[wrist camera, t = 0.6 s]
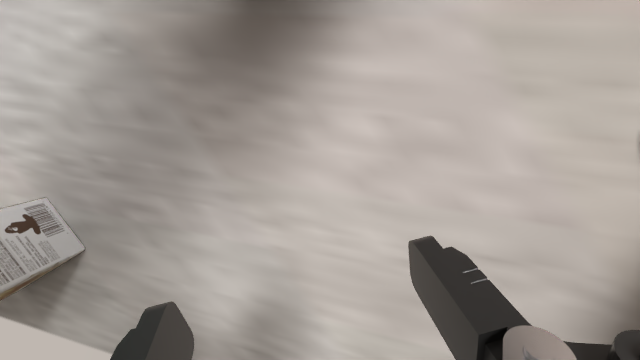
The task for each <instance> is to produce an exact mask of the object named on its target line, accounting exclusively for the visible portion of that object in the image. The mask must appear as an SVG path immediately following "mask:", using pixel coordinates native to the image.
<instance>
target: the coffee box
mask: <svg viewBox="0 0 640 360" xmlns="http://www.w3.org/2000/svg"><path fill="white" fill-rule="evenodd" d="M84 250H85V247H84V246H83V244H82V243H81V242H80V240H79V239H78V238H77V237H76V235H75V234H74V233H73V231H72V230H71V229H70V228H69V226H68V225H67V224H66V222H65V221H64V220H63V219H62V217H61V216H60V215H59V213H58V212H57V211H56V209H55V208H54V207H53V206H52V204H51V203H50V202H49V200H48V199H47V198H41V199H37V200H33V201H29V202H25V203H21V204H17V205H13V206H9V207H5V208H1V209H0V301H1V300H3V299H4V298H6V297H8V296H10V295H12V294H14V293H16V292H17V291H19V290H21V289H23V288H24V287H26V286H28V285H29V284H31V283H32V282H34V281H36V280H37V279H39V278H40V277H42V276H44V275H45V274H47V273H48V272H50V271H52V270H53V269H55V268H57V267H58V266H60V265H61V264H63V263H65V262H66V261H68V260H70V259H71V258H73V257H74V256H76V255H78V254H79V253H81V252H82V251H84Z"/></svg>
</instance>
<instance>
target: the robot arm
mask: <svg viewBox="0 0 640 360" xmlns="http://www.w3.org/2000/svg"><path fill="white" fill-rule="evenodd" d="M409 261H410V275H411V279H412V283H413V286H414V288H415V290H416V292H417V294H418V296H419V297H420V299H421V301H422V303H423V304H424V306H425V308H426V309H427V311H428V313H429V315H430V316H431V318H432V320H433V321H434V323H435V325H436V327H437V328H438V330H439V332H440V334H441V335H442V337H443V339H444V340H445V342H446V344H447V346H448V347H449V349H450V351H451V352H452V354H453V356H454V358H455V359H456V360H640V330H628V331H624V332H621V333H620V334H618V335H617V336H616V337H615V340H614V342H613V345H604V344H586V343H571V342H565V341H562V340H561V339H560V338H558V337H557V336H555V335H554V334H552V333H550V332H548V331H546V330H544V329H541V328H538V327H534V326H532V325H530V324H529V323H528V322H527V321H526V320H525V319H524V318H523V316H522V315H521V314H520V313H519V312H518V311H517V310H516V309H515V308H514V307H513V306H512V304H511V303H510V302H509V301H508V300H507V299H506V298H505V297H504V296H503V295H502V294H501V292H500V291H499V290H498V289H497V288H496V287H495V286H494V285H493V284H492V283H491V281H490V280H487V277H486V276H485V275H484V274H483V273H482V272H481V271H480V270H478V267H477V266H476V265H475V264H474V263H473V262H472V261H471V260H470V258H469V257H468V256H467V255H465V254H463V253H462V252H460V251H458V250H456V249H455V248H453V247H448V248H445V249H443V248H442V247H441V246H440V244H439V243H438V242H437V241H436V240H435V238H434V237H432V236H427V237H423V238H419V239H415V240H412V241H409ZM193 350H194V338H193V334H192V331H191V329H190V327H189V326H188V324H187V322H186V321H185V319H184V317H183V316H182V314H181V312H180V310H179V309H178V307H177V305H176V304H175V303H174V302H168V303H164V304H160V305H156V306H153V307H149V308H147V309H145V311H144V312H143V314H142V316H141V318H140V321H139V323H138V325H137V327H136V328H135V329H131V330H130V331H129V332H128V334H127V335H126V336H125V337H124V338H123V340H122V341H121V342H120V343H119V344H118V346H117V347H116V349H115V351H114V353H113V355H112V357H111V359H110V360H191V359H192V355H193Z"/></svg>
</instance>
